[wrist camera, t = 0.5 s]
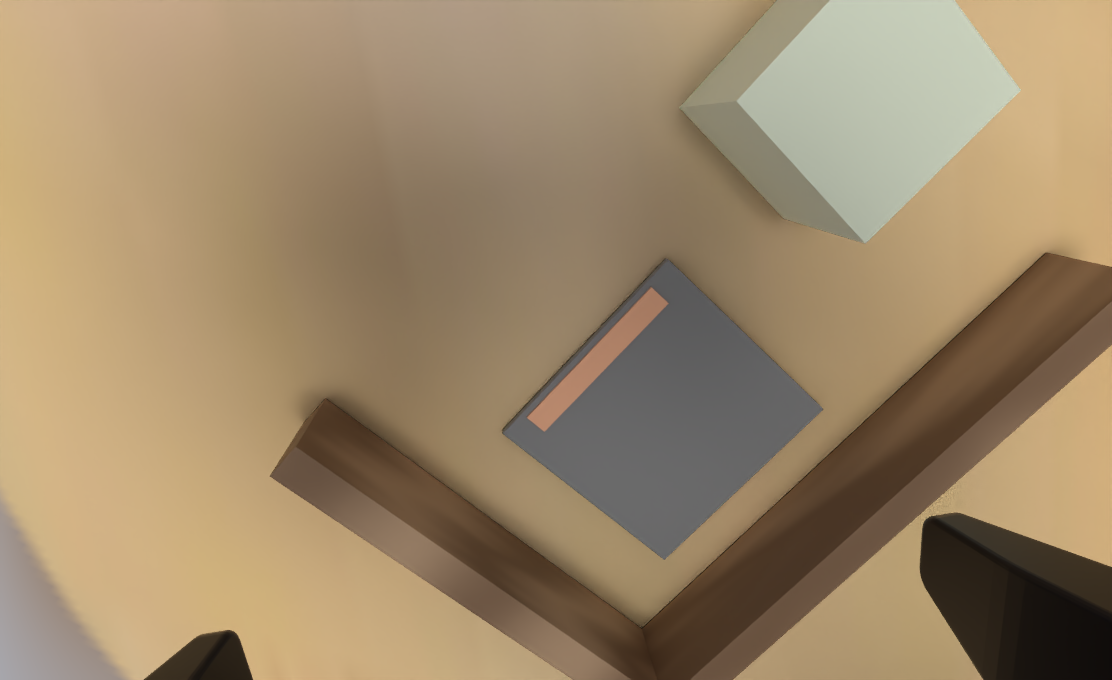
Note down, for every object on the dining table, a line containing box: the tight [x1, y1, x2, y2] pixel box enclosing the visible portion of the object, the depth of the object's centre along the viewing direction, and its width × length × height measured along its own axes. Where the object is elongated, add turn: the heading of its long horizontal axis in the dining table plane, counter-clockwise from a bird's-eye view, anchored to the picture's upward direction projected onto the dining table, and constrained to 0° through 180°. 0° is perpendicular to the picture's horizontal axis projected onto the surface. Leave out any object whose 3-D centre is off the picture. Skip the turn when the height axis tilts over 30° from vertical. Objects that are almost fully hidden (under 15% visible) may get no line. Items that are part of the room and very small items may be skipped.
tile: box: [503, 258, 823, 560], centre depth 23 cm, size 8×8×1 cm
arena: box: [270, 253, 1112, 680], centre depth 21 cm, size 16×22×4 cm
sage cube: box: [679, 0, 1021, 244], centre depth 18 cm, size 5×5×5 cm
